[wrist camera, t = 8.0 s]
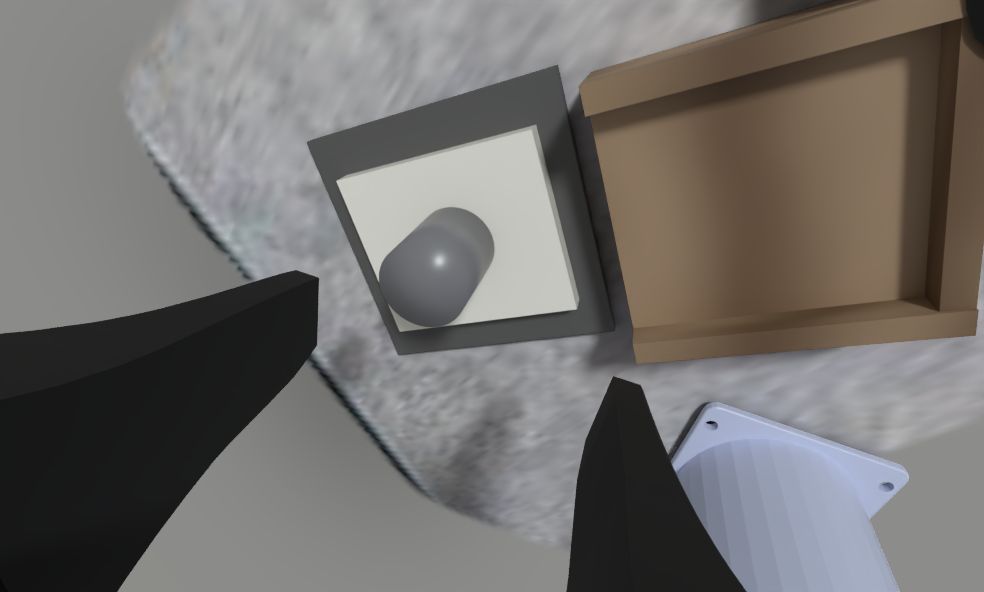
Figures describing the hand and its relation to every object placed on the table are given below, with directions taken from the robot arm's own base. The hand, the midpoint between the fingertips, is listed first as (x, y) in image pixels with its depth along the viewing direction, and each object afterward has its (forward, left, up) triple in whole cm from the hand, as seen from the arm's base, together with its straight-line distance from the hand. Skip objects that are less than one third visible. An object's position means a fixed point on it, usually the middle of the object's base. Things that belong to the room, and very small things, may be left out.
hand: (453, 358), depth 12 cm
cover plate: (-1, +2, -9) cm, 9 cm away
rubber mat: (-1, +2, -9) cm, 9 cm away
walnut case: (+4, -7, -9) cm, 12 cm away
